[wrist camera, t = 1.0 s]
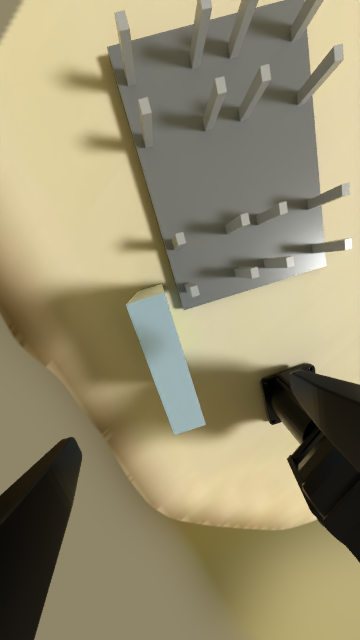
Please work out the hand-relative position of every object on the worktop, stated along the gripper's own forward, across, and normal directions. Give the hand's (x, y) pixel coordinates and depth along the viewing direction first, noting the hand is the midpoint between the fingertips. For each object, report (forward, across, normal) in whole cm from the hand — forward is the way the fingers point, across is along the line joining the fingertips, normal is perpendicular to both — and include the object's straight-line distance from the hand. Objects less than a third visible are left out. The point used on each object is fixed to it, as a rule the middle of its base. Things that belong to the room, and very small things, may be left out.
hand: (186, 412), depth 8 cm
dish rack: (+13, -9, -12) cm, 20 cm away
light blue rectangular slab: (+13, +1, +1) cm, 13 cm away
